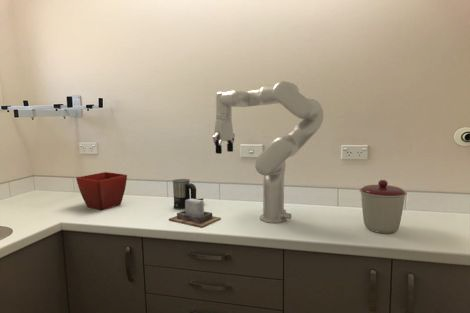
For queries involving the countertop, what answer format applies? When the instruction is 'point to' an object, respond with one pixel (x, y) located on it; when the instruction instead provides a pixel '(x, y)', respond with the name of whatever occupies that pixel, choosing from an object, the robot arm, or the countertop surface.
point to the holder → (195, 219)
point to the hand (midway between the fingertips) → (224, 152)
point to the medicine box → (194, 207)
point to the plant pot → (102, 189)
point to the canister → (382, 207)
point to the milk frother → (183, 192)
